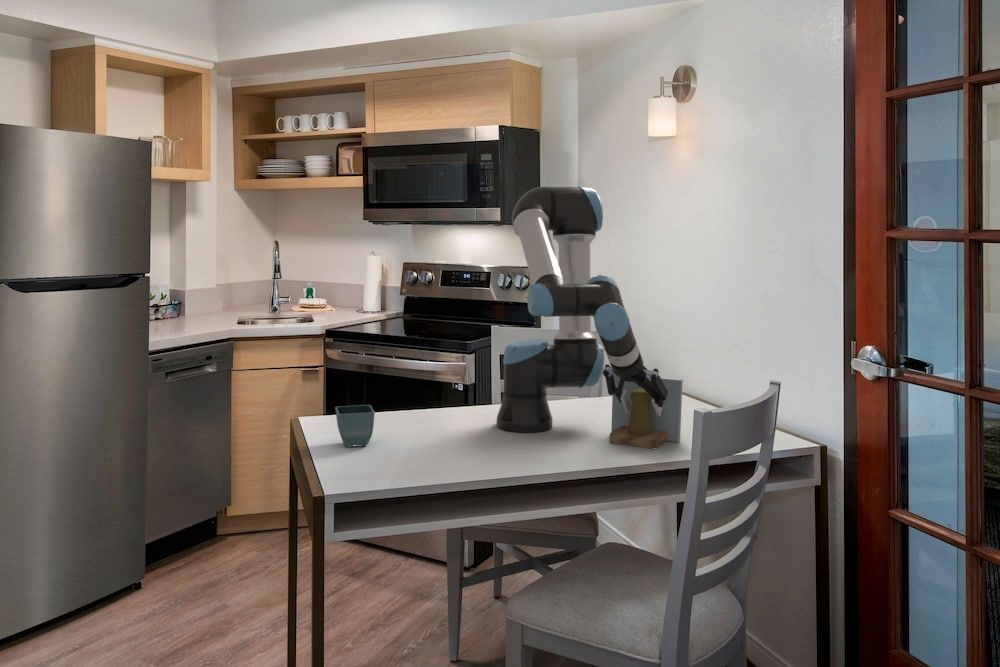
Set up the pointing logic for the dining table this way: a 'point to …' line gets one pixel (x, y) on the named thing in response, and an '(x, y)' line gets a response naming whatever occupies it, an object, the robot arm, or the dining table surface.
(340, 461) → the dining table surface
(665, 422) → the back board
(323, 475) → the dining table surface
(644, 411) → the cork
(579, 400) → the dining table surface
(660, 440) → the brown flat block
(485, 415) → the dining table surface
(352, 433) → the flower pot
